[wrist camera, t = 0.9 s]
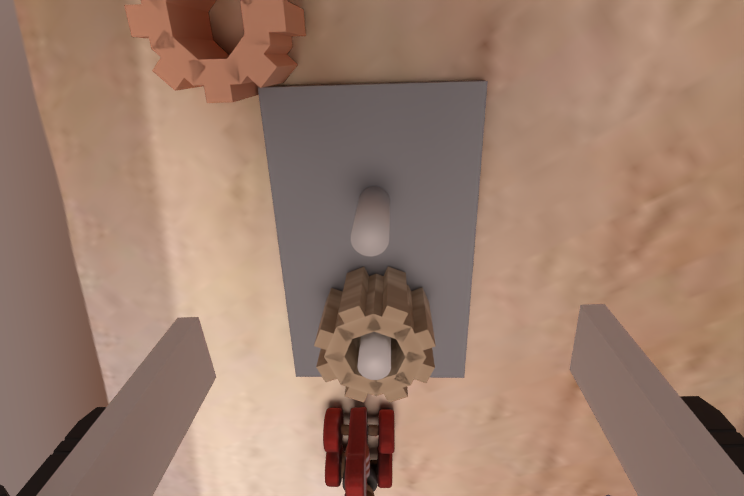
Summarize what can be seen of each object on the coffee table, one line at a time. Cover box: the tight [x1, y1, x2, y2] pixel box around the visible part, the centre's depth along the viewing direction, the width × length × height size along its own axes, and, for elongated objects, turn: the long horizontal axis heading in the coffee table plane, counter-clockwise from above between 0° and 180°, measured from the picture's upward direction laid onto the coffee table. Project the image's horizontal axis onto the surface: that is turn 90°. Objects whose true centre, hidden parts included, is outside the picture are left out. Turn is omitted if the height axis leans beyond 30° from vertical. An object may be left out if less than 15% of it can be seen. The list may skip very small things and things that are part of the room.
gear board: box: [258, 80, 488, 380], centre depth 32 cm, size 26×16×9 cm, turn 2°
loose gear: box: [124, 0, 306, 103], centre depth 26 cm, size 9×9×6 cm
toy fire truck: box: [323, 407, 394, 496], centre depth 40 cm, size 7×12×10 cm, turn 179°
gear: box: [314, 267, 436, 402], centre depth 34 cm, size 9×9×6 cm
